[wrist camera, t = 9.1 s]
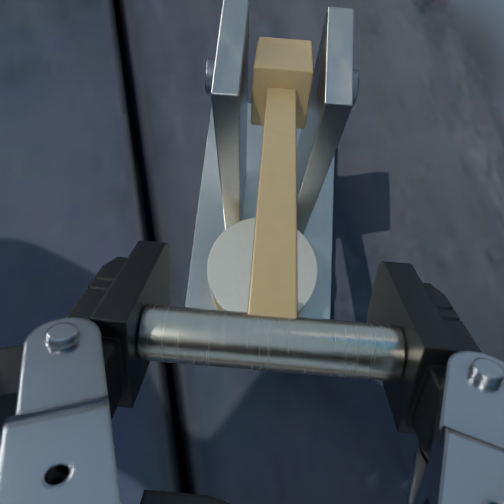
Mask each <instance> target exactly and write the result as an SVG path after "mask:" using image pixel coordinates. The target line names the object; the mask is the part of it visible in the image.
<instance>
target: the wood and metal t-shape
mask: <svg viewBox="0 0 504 504" xmlns="http://www.w3.org/2000/svg"><path fill="white" fill-rule="evenodd" d="M313 74H314V68H313V53H312V42H311V41H306V40H293V39H281V38H269V37H258V40H257V47H256V54H255V61H254V69H253V87H252V105H251V124H252V125H261V126H264V128H263V139H262V150H261V162H260V173H259V184H258V195H257V206H256V218H255V229H254V240H253V251H252V263H251V274H250V285H249V296H248V308H247V312H238V311H226V310H215V309H203V308H191V307H179V306H168V305H156V304H147V305H146V306H145V307H144V309H143V311H142V313H141V316H140V320H139V324H138V330H137V354H138V357H139V359H141V360H147V361H159V362H170V363H182V364H194V365H205V366H217V367H229V368H240V369H252V370H263V371H275V372H287V373H298V374H310V375H322V376H333V377H345V378H357V379H368V380H380V381H392V382H396V381H399V380H400V378H401V377H402V375H403V372H404V368H405V361H406V345H405V338H404V334H403V332H402V330H401V328H400V327H399V326H397V325H391V324H379V323H367V322H356V321H344V320H332V319H320V318H309V317H298V273H297V129H304V128H305V124H306V118H307V112H308V106H309V99H310V93H311V87H312V81H313Z"/></svg>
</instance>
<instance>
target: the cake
mask: <svg viewBox="0 0 504 504" xmlns="http://www.w3.org/2000/svg"><path fill="white" fill-rule="evenodd" d="M254 229H255V218H250V219H245V220H243V221H240V222H238V223H236V224H234V225H232V226H231V227H229V228H228V229H226V230H225V231H224V232H223V233H222V234H221V235H220V236H219V237H218V239H217V240H216V242H215V243H214V245H213V247H212V249H211V251H210V254H209V257H208V262H207V278H208V282H209V286H210V290H211V293H212V296H213V299H214V302H215V305H216V307H217V309H218V310H226V311H238V312H247V308H248V296H249V285H250V274H251V263H252V251H253V240H254ZM297 273H298V315H299V314H300V312H301V311H302V309H303V308H304V307H305V305H306V304H307V302H308V301H309V299H310V298H311V296H312V294H313V292H314V289H315V287H316V283H317V276H318V266H317V260H316V256H315V253H314V251H313V249H312V246H311V245H310V243H309V242H308V240H307V239H306V238H305V236H304V235H303V234H302V233H301V232H300V231H299V230H297Z"/></svg>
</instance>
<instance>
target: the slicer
mask: <svg viewBox="0 0 504 504" xmlns="http://www.w3.org/2000/svg"><path fill="white" fill-rule="evenodd" d="M248 48H249V1H248V0H223V5H222V13H221V20H220V28H219V35H218V43H217V50H216V58H208V59H207V62H206V70H205V90H206V94H207V95H211V101H212V105H211V112H210V120H209V127H208V135H207V142H206V150H205V158H204V165H203V173H202V180H201V188H200V196H199V203H198V211H197V218H196V226H195V233H194V241H193V249H192V256H191V264H190V271H189V279H188V287H187V294H186V302H185V307H191V308H203V309H215V310H218V309H217V307H216V305H215V302H214V299H213V296H212V293H211V290H210V286H209V282H208V278H207V262H208V257H209V254H210V251H211V249H212V247H213V245H214V243H215V242H216V240H217V239H218V237H219V236H220V235H221V234H222V233H223V232H224V231H225V230H226V229H228V228H229V227H231V226H232V225H234V224H236V223H238V222H240V221H243V220H245V219H250V218H256V206H257V195H258V184H259V173H260V162H261V150H262V139H263V128H264V126H261V125H252V124H251V105H252V103H248ZM353 57H354V9H352V8H339V7H328V10H327V14H326V19H325V23H324V28H323V32H322V37H321V41H320V46H319V51H318V55H317V60H316V64H315V69H314V74H313V81H312V87H311V93H310V99H309V106H308V112H307V118H306V124H305V128H304V129H297V230H299V231H300V232H301V233H302V234H303V235H304V236H305V238H306V239H307V240H308V242H309V243H310V245H311V246H312V249H313V251H314V253H315V256H316V260H317V266H318V276H317V283H316V287H315V289H314V292H313V294H312V296H311V298H310V299H309V301H308V302H307V304H306V305H305V307H304V308H303V309H302V311H301V312H300V314H299V315H298V317H309V318H320V319H331V281H332V241H333V202H334V162H335V151H336V148H337V146H338V143H339V140H340V138H341V135H342V133H343V130H344V127H345V125H346V122H347V119H348V117H349V114H350V112H351V109H352V106H354V104H355V101H356V98H357V94H358V89H359V71H358V70H353Z"/></svg>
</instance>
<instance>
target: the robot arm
mask: <svg viewBox="0 0 504 504" xmlns="http://www.w3.org/2000/svg"><path fill="white" fill-rule="evenodd" d="M169 303H170V258H169V245H168V243H162V242H150V241H139V242H138V243H137V244H136V246H135V248H134V249H133V251H132V252H131V254H130V255H129V257H128V258H124V257H117V258H115V259H113V260H112V261H110V262H108V263H107V264H105V265H103V266H102V268H101V269H100V270H99V272H98V273H97V275H96V276H95V279H93V280H92V281H91V283H90V284H89V286H88V289H86V290H85V291H84V293H83V294H82V295H81V297H80V298H79V299H78V301H77V302H76V304H75V305H74V306H73V308H72V309H71V310H70V312H69V313H68V315H67V316H66V317H65V318H60V319H55V320H52V321H49V322H46V323H44V324H42V325H40V326H38V327H37V328H35V329H34V330H33V331H32V332H30V333H29V335H28V336H27V337H26V339H25V341H24V344H23V345H20V346H14V347H6V348H0V504H121V500H120V492H119V483H118V475H117V466H116V458H115V449H114V441H113V432H112V424H111V420H112V417H113V415H114V412H115V410H116V408H117V407H128V408H133V405H134V403H135V400H136V397H137V395H138V392H139V389H140V387H141V384H142V381H143V379H144V376H145V373H146V371H147V368H148V365H149V363H150V361H147V360H141V359H139V357H138V354H137V330H138V324H139V320H140V316H141V313H142V311H143V309H144V307H145V306H146V305H147V304H156V305H168V306H169ZM459 319H460V318H459V317H458V315H457V313H456V312H455V310H453V307H452V306H451V304H450V302H449V301H448V299H447V298H446V296H445V295H444V294H443V293H441V292H440V291H439V290H437V289H436V288H435V287H434V286H432V285H431V284H428V283H422V281H421V280H420V278H419V276H418V275H417V273H416V271H415V269H414V268H413V266H412V265H411V264H408V263H396V262H384V261H382V262H381V263H380V264H379V266H378V269H377V273H376V277H375V281H374V286H373V290H372V294H371V299H370V303H369V307H368V312H367V323H379V324H391V325H397V326H399V327H400V328H401V330H402V332H403V334H404V338H405V345H406V361H405V368H404V372H403V375H402V377H401V378H400V380H399V381H396V382H392V381H382V382H383V385H384V389H385V392H386V395H387V398H388V402H389V405H390V408H391V411H392V415H393V418H394V421H395V425H396V428H397V431H398V432H404V433H415V434H417V437H418V440H419V443H418V446H417V449H416V452H415V455H414V459H413V465H412V471H411V476H410V482H409V487H408V493H407V498H406V504H504V362H503V361H501V360H499V359H497V358H495V357H493V356H490V355H487V354H484V353H481V351H480V349H479V348H478V346H477V345H476V343H475V342H474V340H473V338H472V337H471V335H470V334H469V332H468V331H467V329H466V328H465V326H464V324H463V323H462V321H460V320H459ZM140 504H230V503H227V502H224V501H221V500H219V499H216V498H213V497H210V496H207V495H198V494H187V493H176V492H164V491H153V490H144V492H143V496H142V499H141V503H140Z"/></svg>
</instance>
